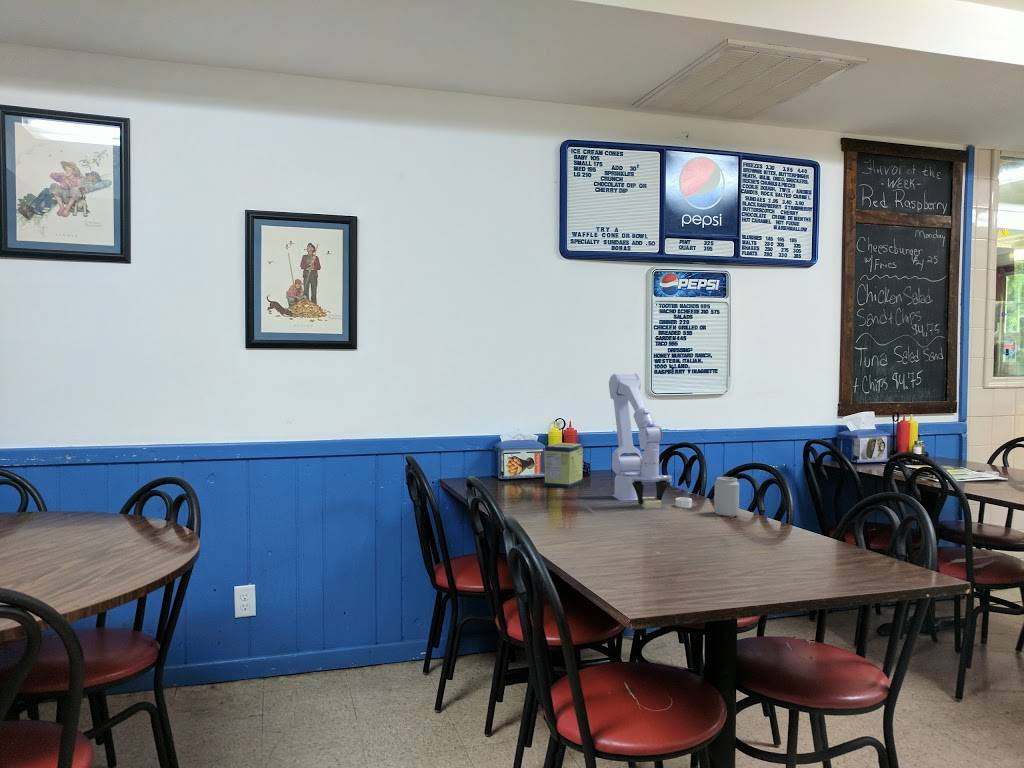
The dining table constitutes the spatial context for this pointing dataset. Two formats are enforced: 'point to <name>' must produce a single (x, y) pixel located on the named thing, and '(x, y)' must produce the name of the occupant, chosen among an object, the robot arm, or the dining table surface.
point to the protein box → (563, 465)
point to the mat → (644, 508)
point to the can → (726, 496)
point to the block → (651, 503)
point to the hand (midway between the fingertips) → (649, 503)
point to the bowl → (683, 502)
